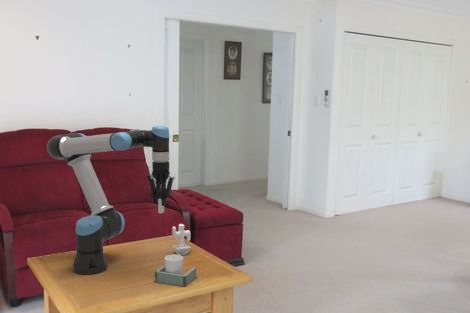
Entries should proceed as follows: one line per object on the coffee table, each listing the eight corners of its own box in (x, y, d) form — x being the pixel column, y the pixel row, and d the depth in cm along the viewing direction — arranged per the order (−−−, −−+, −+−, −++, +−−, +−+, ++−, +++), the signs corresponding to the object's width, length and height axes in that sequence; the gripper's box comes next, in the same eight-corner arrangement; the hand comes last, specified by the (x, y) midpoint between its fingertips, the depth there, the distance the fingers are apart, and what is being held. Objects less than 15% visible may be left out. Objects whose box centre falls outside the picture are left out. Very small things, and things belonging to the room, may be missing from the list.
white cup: (179, 284, 201) (179, 261, 200) (162, 282, 203) (161, 259, 202) (185, 277, 209) (185, 255, 208) (168, 275, 211) (168, 253, 209)
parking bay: (154, 281, 203) (154, 271, 203) (166, 272, 214) (166, 263, 213) (185, 286, 199) (185, 276, 198) (196, 277, 209) (196, 267, 209)
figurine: (192, 254, 239) (193, 225, 237) (175, 257, 234) (175, 227, 232) (187, 250, 245) (187, 221, 243) (170, 252, 241) (170, 223, 239)
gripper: (177, 160, 214) (177, 211, 217) (152, 159, 218) (152, 209, 221) (170, 163, 207) (170, 215, 210) (143, 161, 211) (144, 213, 214)
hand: (161, 212), depth 216 cm, fingers closed
